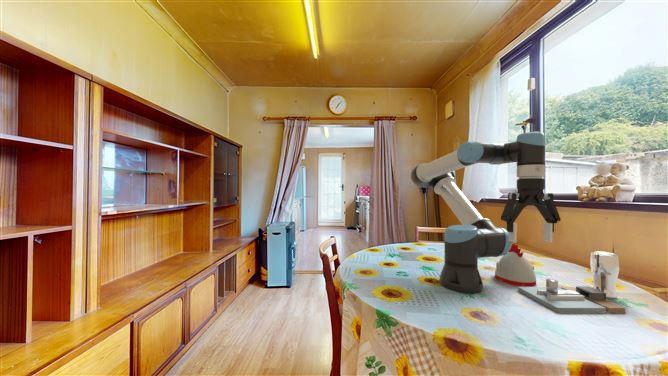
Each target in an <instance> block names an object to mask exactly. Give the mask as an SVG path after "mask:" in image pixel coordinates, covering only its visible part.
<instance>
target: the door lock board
mask: <svg viewBox="0 0 668 376" xmlns="http://www.w3.org/2000/svg"><path fill="white" fill-rule="evenodd" d="M517 291H518V292H520V294H522V295H525V296H526V297H528V298H529V299H532V300H534V301H535V302H537V303H539V304H541V305H543V306H544V307H546V308H549V309H550V310H552V311H553V312H555V313H565V314H566V313H567V314H568V313H571V314H574V313H577V314H578V313H579V314H580V313H581V314H585V313H586V314H606V313H609V314H626V307H624V306H621V305H619V304H616V303H614V302H612V301H609V300H607V298H606V293H605V292H602V291H600V290H597V289H594V288H593V287H592V286H589V285H588V286H587V285H585V286H584V285H583V286H581V285H578V286H577V285H576V286H575V287H574V286H561V287H559V286H558V291H575V292H578V293H580V295H546V294H544V291H546V286H532V287H524V286H517Z"/></svg>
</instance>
